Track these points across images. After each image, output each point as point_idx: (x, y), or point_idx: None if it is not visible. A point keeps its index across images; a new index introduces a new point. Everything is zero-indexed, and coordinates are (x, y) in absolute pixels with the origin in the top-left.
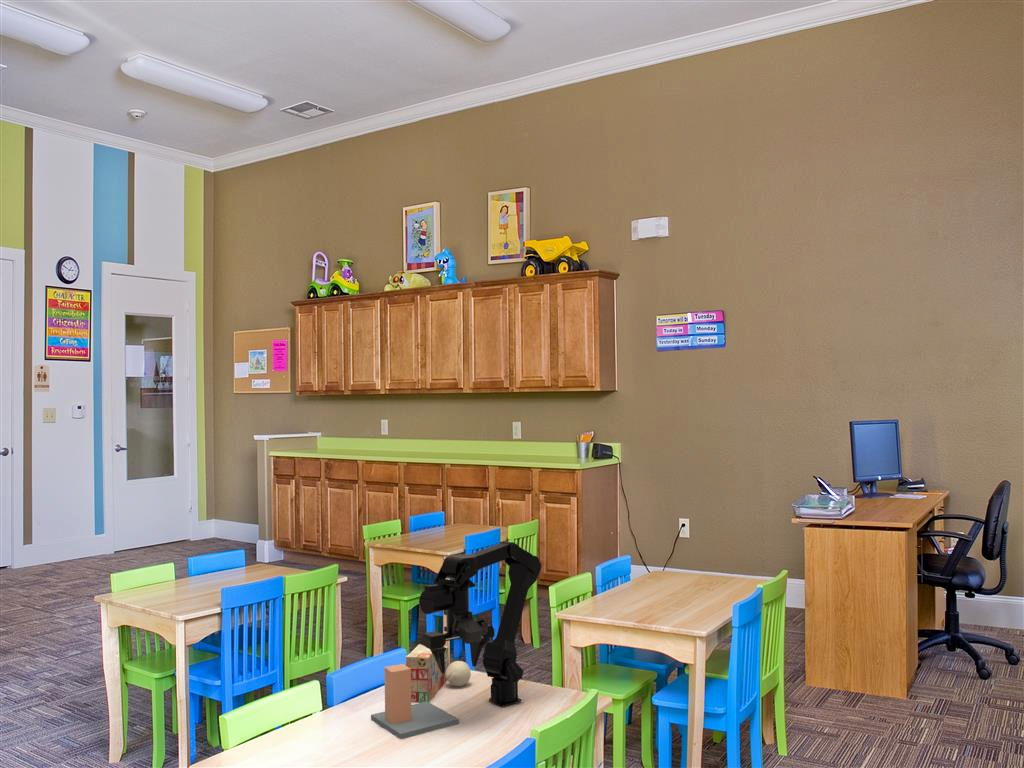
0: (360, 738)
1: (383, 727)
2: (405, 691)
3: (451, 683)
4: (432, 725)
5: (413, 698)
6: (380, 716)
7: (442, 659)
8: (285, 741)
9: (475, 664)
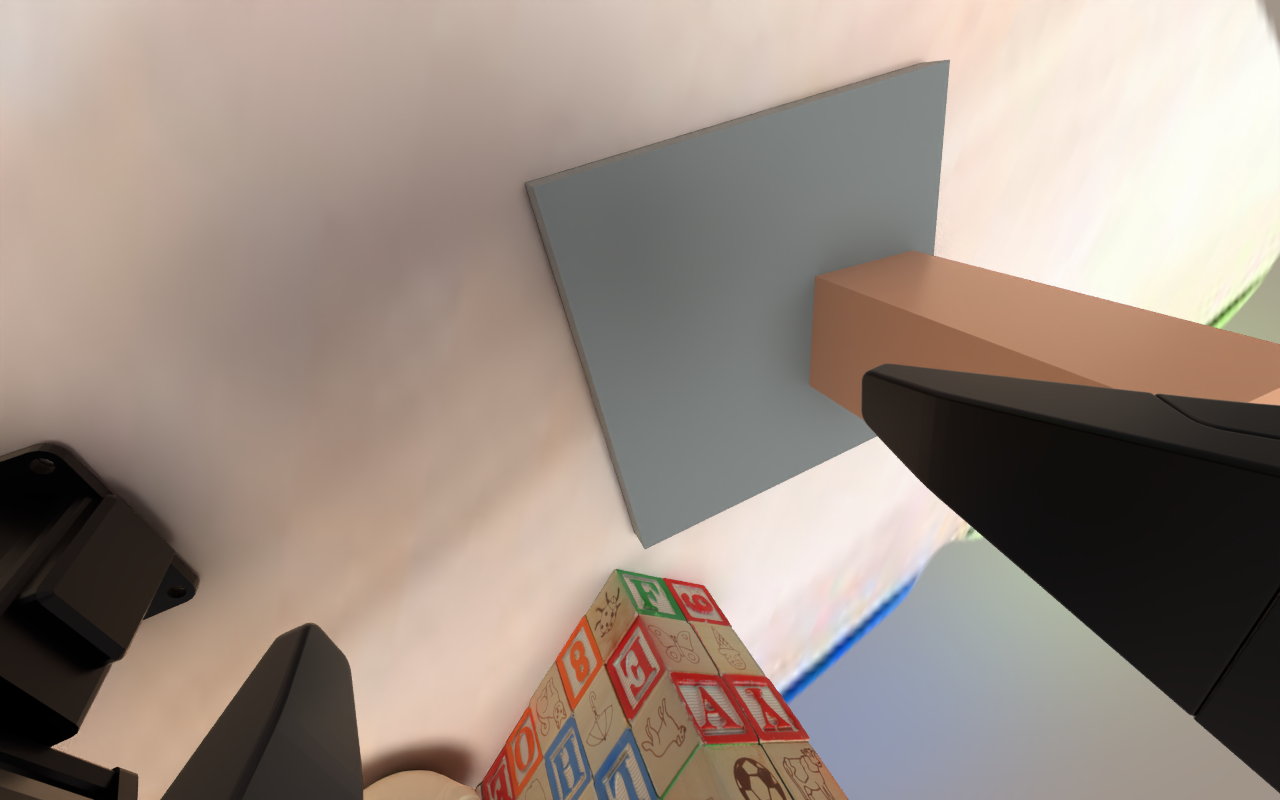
0: (1033, 181)
1: None
2: (1015, 326)
3: (449, 778)
4: (746, 124)
5: (687, 595)
6: None
7: (1193, 418)
8: (1181, 266)
9: (280, 657)
